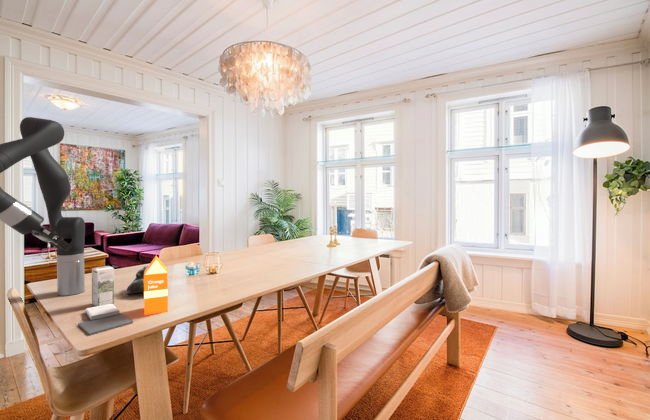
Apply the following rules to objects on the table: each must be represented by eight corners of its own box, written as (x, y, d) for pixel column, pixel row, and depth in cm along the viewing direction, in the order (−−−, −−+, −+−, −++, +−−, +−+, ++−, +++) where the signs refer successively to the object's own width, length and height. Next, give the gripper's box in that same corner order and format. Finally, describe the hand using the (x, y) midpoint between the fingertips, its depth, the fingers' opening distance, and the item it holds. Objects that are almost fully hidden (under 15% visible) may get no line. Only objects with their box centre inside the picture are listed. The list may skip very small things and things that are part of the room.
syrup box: (108, 300, 124) (108, 265, 124) (114, 303, 121) (114, 267, 120) (92, 304, 119) (91, 267, 119) (97, 307, 116) (96, 270, 115)
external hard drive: (90, 321, 102) (85, 312, 111) (119, 314, 108) (112, 306, 117) (90, 316, 102) (85, 308, 111) (119, 309, 108) (112, 302, 117)
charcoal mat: (77, 325, 100) (77, 323, 100) (119, 314, 110) (119, 312, 110) (89, 335, 93) (89, 333, 93) (133, 322, 102) (133, 321, 102)
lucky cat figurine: (118, 295, 130) (124, 264, 136) (144, 298, 140) (148, 269, 146) (143, 289, 125) (148, 256, 131) (168, 293, 135) (171, 262, 141)
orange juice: (143, 315, 109) (143, 260, 108) (144, 307, 117) (144, 255, 116) (168, 311, 113) (167, 258, 112) (167, 304, 121) (167, 254, 120)
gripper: (37, 209, 98) (81, 241, 108) (24, 208, 105) (66, 238, 115) (15, 227, 93) (63, 258, 103) (2, 224, 101) (48, 254, 111)
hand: (64, 247), depth 109 cm, fingers open, 8 cm apart
